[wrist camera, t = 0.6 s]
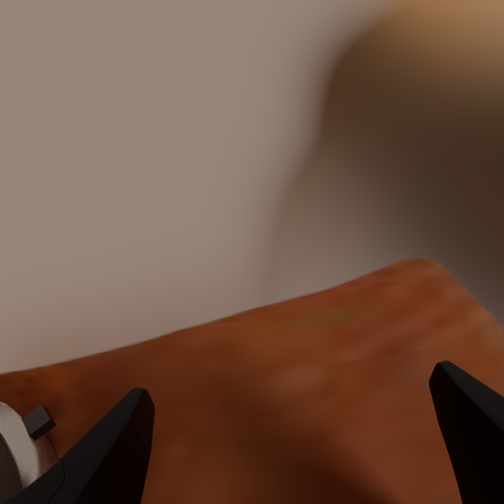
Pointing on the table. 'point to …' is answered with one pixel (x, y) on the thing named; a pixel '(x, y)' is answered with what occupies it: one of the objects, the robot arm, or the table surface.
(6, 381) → the table surface
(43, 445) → the cooker pot
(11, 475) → the cooker lid
